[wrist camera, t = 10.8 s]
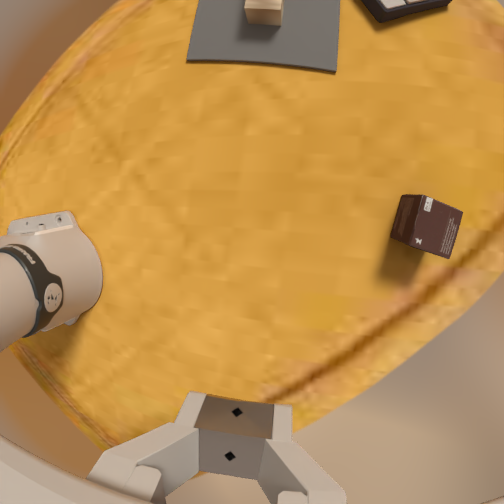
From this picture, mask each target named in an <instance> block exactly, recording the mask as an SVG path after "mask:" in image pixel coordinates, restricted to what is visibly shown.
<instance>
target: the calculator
mask: <svg viewBox="0 0 504 504" xmlns="http://www.w3.org/2000/svg"><path fill="white" fill-rule="evenodd" d="M361 1H362V2H363V3H364V5H365V6H366V7H367V8H368V10H369V11H370V12H371V13H372V15H373V16H374V17H375V19H376V20H377V21H378V22H379V23H382V22H386V21H389V20H392V19H396V18H399V17H402V16H404V15H408V14H412V13H416V12H420V11H424V10H429V9H433V8H437V7H442V6H446V5H448V4H449V3H450V2H451V1H452V0H361Z"/></svg>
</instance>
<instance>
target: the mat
mask: <svg viewBox="0 0 504 504" xmlns="http://www.w3.org/2000/svg"><path fill="white" fill-rule="evenodd" d="M245 1H246V0H199V3H198V7H197V12H196V16H195V21H194V25H193V30H192V34H191V39H190V44H189V49H188V54H187V61H235V62H253V63H267V64H278V65H287V66H296V67H304V68H312V69H318V70H325V71H331V72H336V70H337V55H338V37H339V15H340V0H284V9H283V17H282V26H277V25H264V24H248V20H247V17H246V13H245V9H244V6H245Z"/></svg>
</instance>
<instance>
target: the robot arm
mask: <svg viewBox="0 0 504 504" xmlns="http://www.w3.org/2000/svg"><path fill="white" fill-rule="evenodd" d="M60 218H61V221H60ZM102 281H103V275H102V267H101V262H100V259H99V256H98V254H97V251H96V249H95V247H94V246H93V244H92V243H91V241H90V240H89V238H88V237H87V236H86V235H85V234H84V233H83V232H82V231H81V230H80V229H79V227H78V225H77V223H76V220H75V218H74V216H73V214H72V213H71V212H70V211H62V212H56V213H50V214H44V215H39V216H33V217H27V218H22V219H17V220H14V221H12V222H11V223H10V225H9V228H8V232H7V235H4V236H1V237H0V352H1V351H2V350H4V349H5V348H7V347H8V346H9V345H11V344H12V343H14V342H15V341H17V340H18V339H20V338H21V337H22V338H25V337H29V336H31V335H34V334H36V333H38V332H39V331H41V330H42V331H48V330H50V329H52V328H54V327H57V326H59V325H61V324H63V323H64V324H66V325H72V324H74V323H75V322H76V321H77V319H78V318H79V316H80V314H81V313H83V312H85V311H87V310H88V309H90V308H91V307H92V306H93V305H94V304H95V303H96V301H97V300H98V298H99V296H100V293H101V289H102ZM199 471H204V472H210V473H216V474H223V475H230V476H235V477H241V478H248V479H255V480H258V483H259V485H260V486H261V487H262V490H263V491H264V493H265V495H266V496H267V498H268V500H269V501H270V503H271V504H347V500H346V493H345V491H344V490H343V489H342V488H341V487H340V486H339V485H338V484H337V483H336V482H335V481H334V480H333V479H332V478H331V477H330V476H329V475H328V474H327V473H326V472H325V471H324V470H323V469H322V468H321V467H320V466H319V465H318V464H317V463H316V462H315V460H314V459H313V458H312V457H311V456H310V455H309V454H308V453H307V452H306V451H305V450H304V449H303V448H302V447H301V446H300V445H299V443H298V442H292V406H291V405H287V404H269V403H261V402H253V401H245V400H239V399H234V398H228V397H222V396H217V395H212V394H206V393H201V392H196V391H190V392H189V393H188V394H187V397H186V399H185V401H184V403H183V405H182V407H181V409H180V411H179V413H178V415H177V418H176V420H175V422H174V423H170V422H168V423H166V424H164V425H162V426H160V427H158V428H156V429H154V430H151V431H149V432H147V433H145V434H143V435H140V436H138V437H136V438H134V439H132V440H129V441H127V442H125V443H122V444H120V445H118V446H115V447H113V448H110V449H108V450H106V451H104V452H103V454H102V455H101V457H100V458H99V460H98V461H97V463H96V464H95V466H94V467H93V469H92V470H91V472H90V473H89V475H88V476H87V478H86V479H83V478H81V477H79V476H77V475H74V474H72V473H70V472H68V471H66V470H63V469H61V468H59V467H57V466H55V465H53V464H51V463H49V462H47V461H45V460H43V459H41V458H40V457H38V456H36V455H34V454H32V453H30V452H29V451H27V450H25V449H23V448H22V447H20V446H18V445H17V444H15V443H13V442H11V441H10V440H8V439H6V438H5V437H3V436H2V435H0V504H166V500H165V497H166V496H167V495H168V494H170V493H171V492H173V491H174V490H175V489H177V488H178V487H180V486H181V485H182V484H184V483H185V482H186V481H188V480H189V479H190V478H192V477H193V476H194V475H196V474H197V473H198V472H199ZM480 504H504V496H501V497H499V498H496V499H493V500H490V501H487V502H483V503H480Z"/></svg>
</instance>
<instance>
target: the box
mask: <svg viewBox="0 0 504 504" xmlns="http://www.w3.org/2000/svg"><path fill="white" fill-rule="evenodd" d="M462 214H463V212H462V211H460V210H458V209H456V208H454V207H451V206H449V205H446V204H444V203H442V202H439V201H437V200H435V199H432V198H430V197H428V196H425V195H407V194H406V195H402V197H401V201H400V205H399V208H398V212H397V215H396V219H395V222H394V226H393V229H392V233H391V237H392V238H394V239H396V240H398V241H401V242H403V243H405V244H407V245H409V246H411V247H414V248H417V249H420V250H423V251H426V252H429V253H432V254H435V255H438V256H441V257H444V258H447V259H449V258H450V256H451V252H452V249H453V246H454V243H455V240H456V236H457V233H458V229H459V225H460V222H461V218H462Z"/></svg>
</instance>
